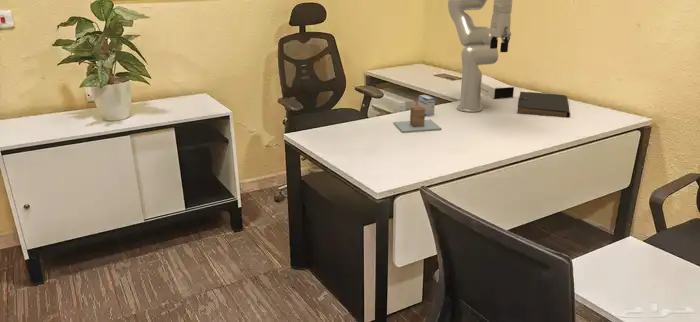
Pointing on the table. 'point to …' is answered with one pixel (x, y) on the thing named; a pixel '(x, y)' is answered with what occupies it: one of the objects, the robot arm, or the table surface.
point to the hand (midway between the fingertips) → (498, 50)
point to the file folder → (543, 104)
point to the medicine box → (427, 104)
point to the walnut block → (417, 116)
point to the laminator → (495, 88)
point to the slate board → (407, 127)
